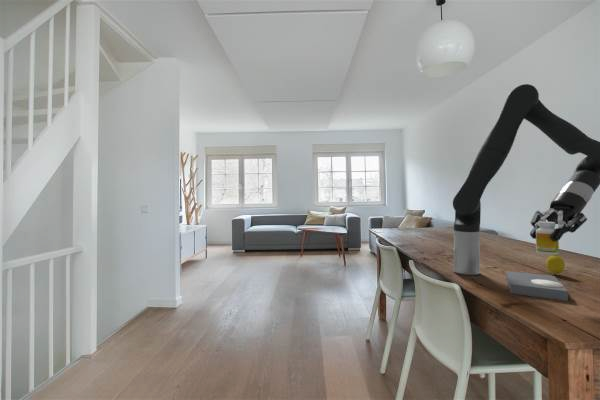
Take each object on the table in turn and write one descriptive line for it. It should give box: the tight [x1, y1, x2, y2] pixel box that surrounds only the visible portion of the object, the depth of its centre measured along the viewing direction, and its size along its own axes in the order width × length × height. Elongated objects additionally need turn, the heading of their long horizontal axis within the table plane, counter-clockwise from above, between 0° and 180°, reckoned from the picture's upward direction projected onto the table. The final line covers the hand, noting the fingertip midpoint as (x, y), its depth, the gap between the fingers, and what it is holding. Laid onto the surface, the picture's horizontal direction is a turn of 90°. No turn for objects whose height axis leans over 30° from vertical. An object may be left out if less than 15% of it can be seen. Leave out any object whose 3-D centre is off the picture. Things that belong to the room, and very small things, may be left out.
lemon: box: [545, 254, 566, 276], centre depth 113 cm, size 6×6×8 cm
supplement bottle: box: [535, 221, 560, 256], centre depth 90 cm, size 5×5×10 cm
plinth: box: [505, 270, 569, 302], centre depth 98 cm, size 14×18×3 cm
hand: (542, 238), depth 89 cm, fingers closed on supplement bottle, 5 cm apart
